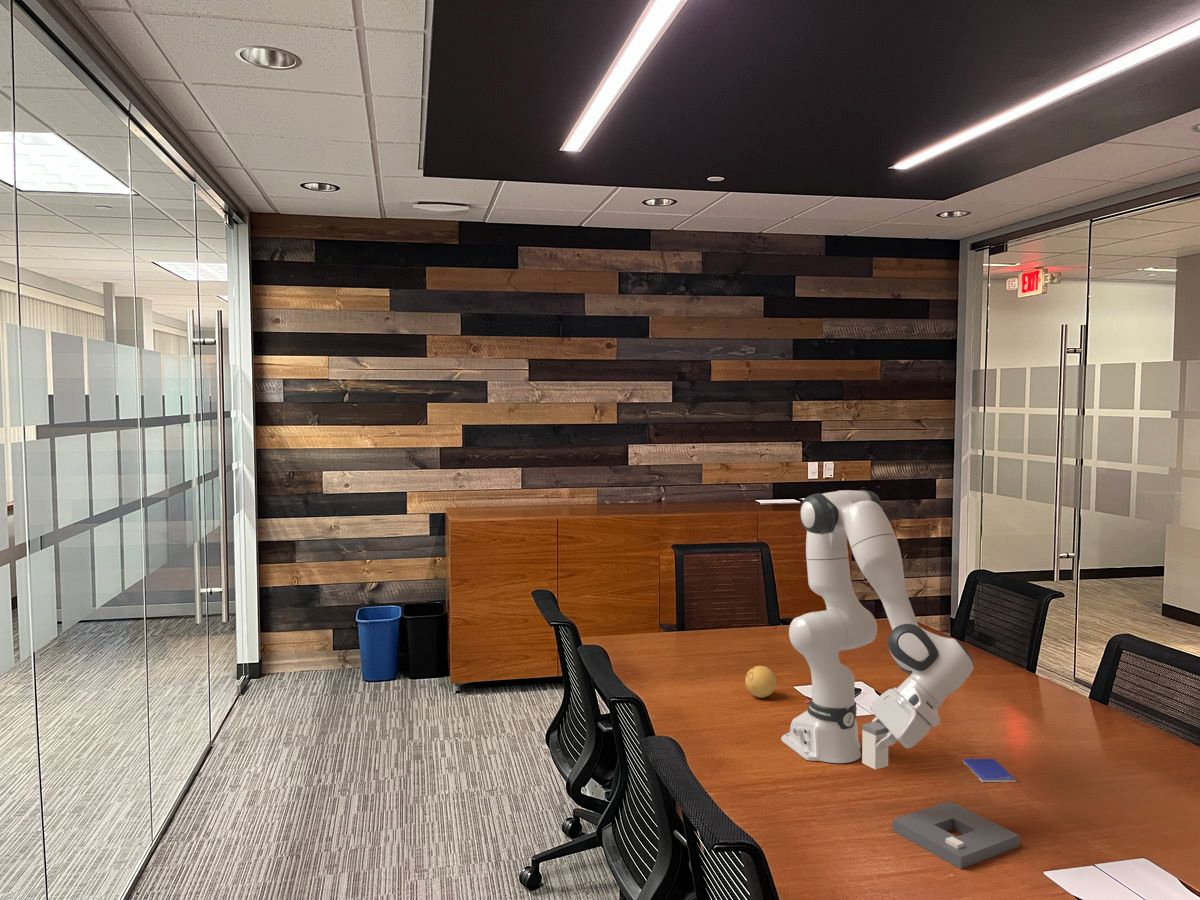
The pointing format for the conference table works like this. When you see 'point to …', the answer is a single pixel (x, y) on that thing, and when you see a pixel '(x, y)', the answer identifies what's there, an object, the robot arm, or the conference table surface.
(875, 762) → the plug
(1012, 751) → the conference table surface
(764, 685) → the stress ball
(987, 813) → the conference table surface
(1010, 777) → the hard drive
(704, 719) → the conference table surface
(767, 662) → the conference table surface
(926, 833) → the socket plate
